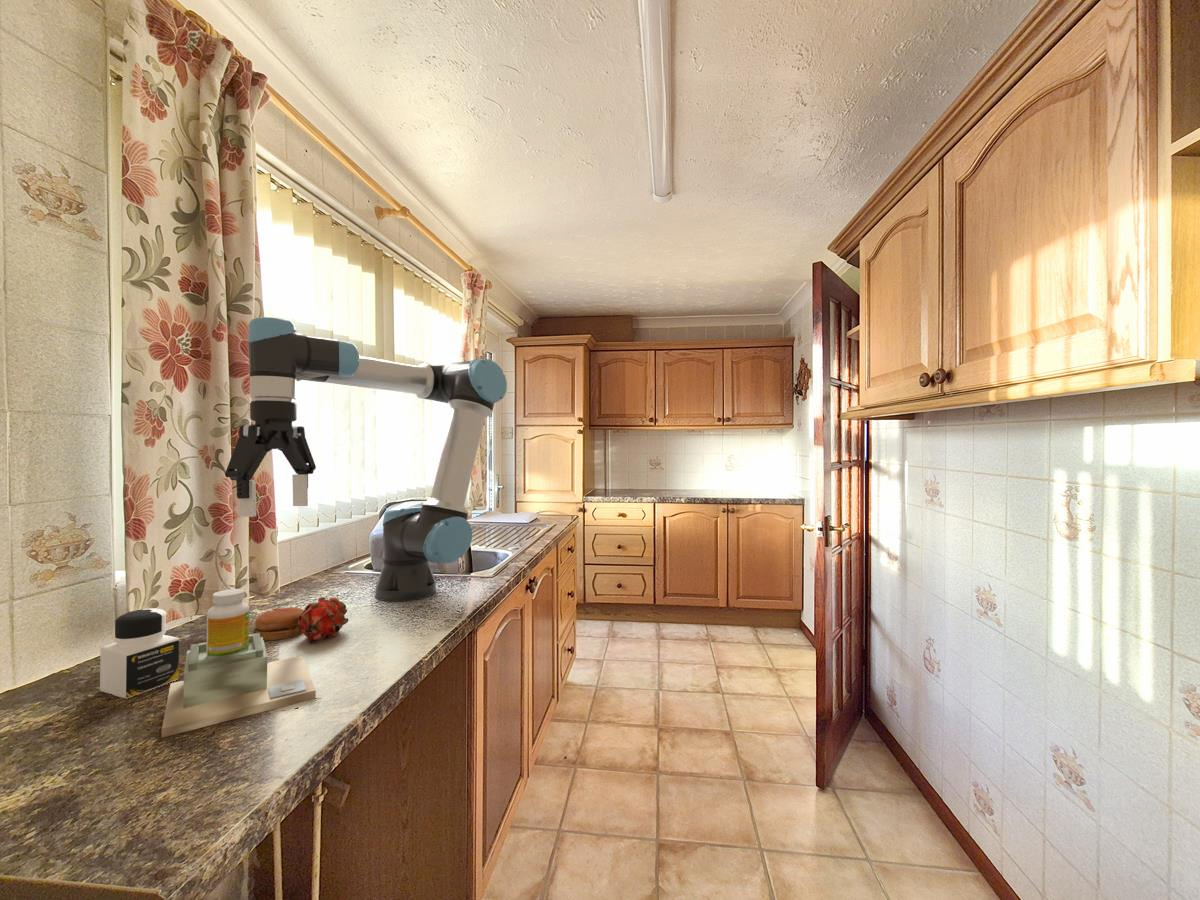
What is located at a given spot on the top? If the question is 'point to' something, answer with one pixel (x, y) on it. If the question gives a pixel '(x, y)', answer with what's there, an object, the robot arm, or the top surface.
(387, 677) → the top surface
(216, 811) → the top surface
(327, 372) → the robot arm
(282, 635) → the burger
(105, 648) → the medicine bottle
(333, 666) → the top surface
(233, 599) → the supplement bottle
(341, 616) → the dragon fruit
